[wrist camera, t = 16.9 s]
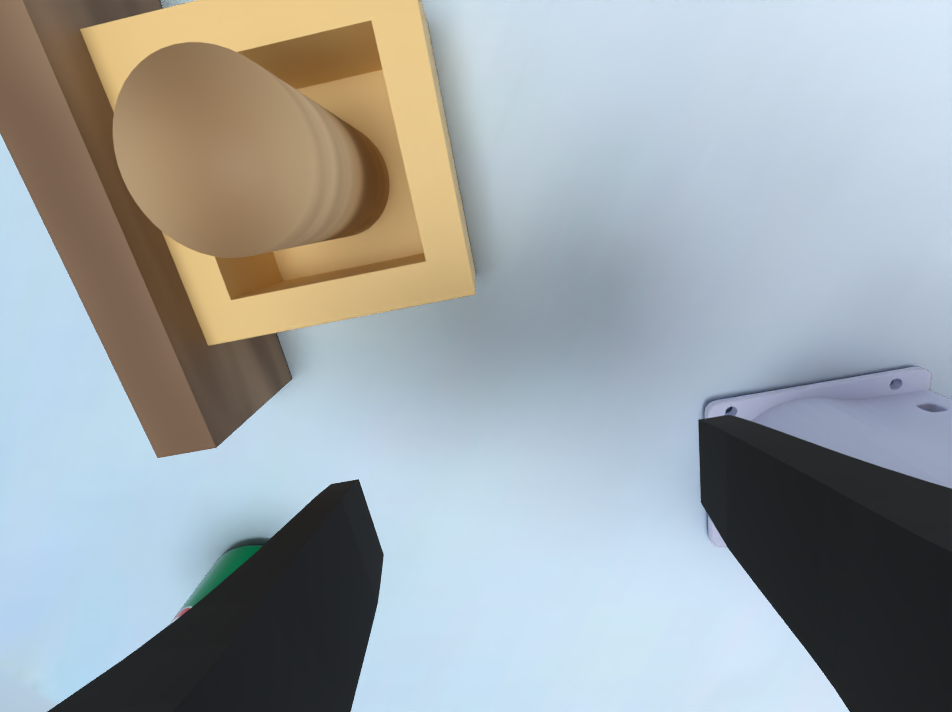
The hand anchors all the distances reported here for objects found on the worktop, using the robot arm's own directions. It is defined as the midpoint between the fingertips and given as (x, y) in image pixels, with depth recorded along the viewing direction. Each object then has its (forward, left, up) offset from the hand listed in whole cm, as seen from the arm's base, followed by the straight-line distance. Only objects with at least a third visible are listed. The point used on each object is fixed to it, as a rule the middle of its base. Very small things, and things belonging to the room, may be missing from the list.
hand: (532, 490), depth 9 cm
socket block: (+5, -8, -10) cm, 14 cm away
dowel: (+5, -8, -10) cm, 14 cm away
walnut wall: (+11, -8, -10) cm, 17 cm away
